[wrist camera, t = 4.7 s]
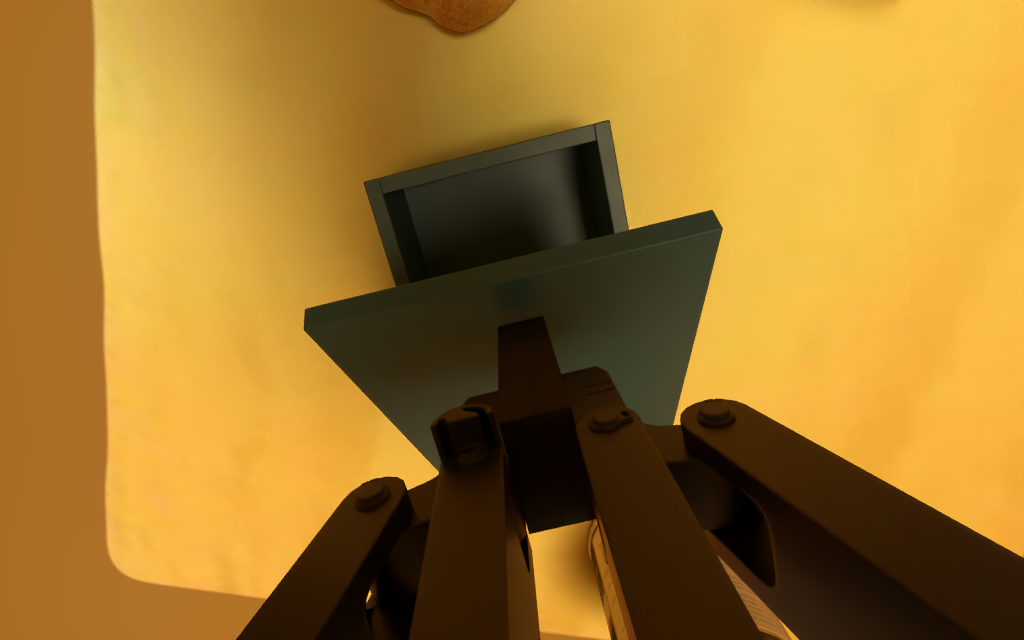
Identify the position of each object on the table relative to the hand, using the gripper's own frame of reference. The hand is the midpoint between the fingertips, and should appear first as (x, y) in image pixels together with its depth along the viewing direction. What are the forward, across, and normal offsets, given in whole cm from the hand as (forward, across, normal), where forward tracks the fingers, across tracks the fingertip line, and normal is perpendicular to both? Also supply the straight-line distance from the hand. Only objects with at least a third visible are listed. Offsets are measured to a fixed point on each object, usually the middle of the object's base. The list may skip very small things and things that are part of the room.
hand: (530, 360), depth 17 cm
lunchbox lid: (+5, 0, -3) cm, 7 cm away
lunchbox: (+18, 0, -2) cm, 18 cm away
